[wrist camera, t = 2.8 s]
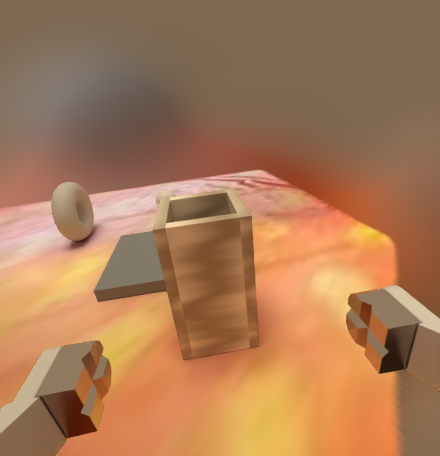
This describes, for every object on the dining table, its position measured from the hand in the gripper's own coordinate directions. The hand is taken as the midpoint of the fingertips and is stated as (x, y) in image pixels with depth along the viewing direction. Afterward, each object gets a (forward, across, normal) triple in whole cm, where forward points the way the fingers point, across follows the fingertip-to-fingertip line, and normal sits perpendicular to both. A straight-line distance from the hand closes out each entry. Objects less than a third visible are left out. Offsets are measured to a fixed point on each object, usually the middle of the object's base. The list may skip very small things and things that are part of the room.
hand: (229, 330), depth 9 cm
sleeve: (+12, 0, +12) cm, 17 cm away
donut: (+38, +22, +12) cm, 45 cm away
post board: (+26, +4, +12) cm, 29 cm away
